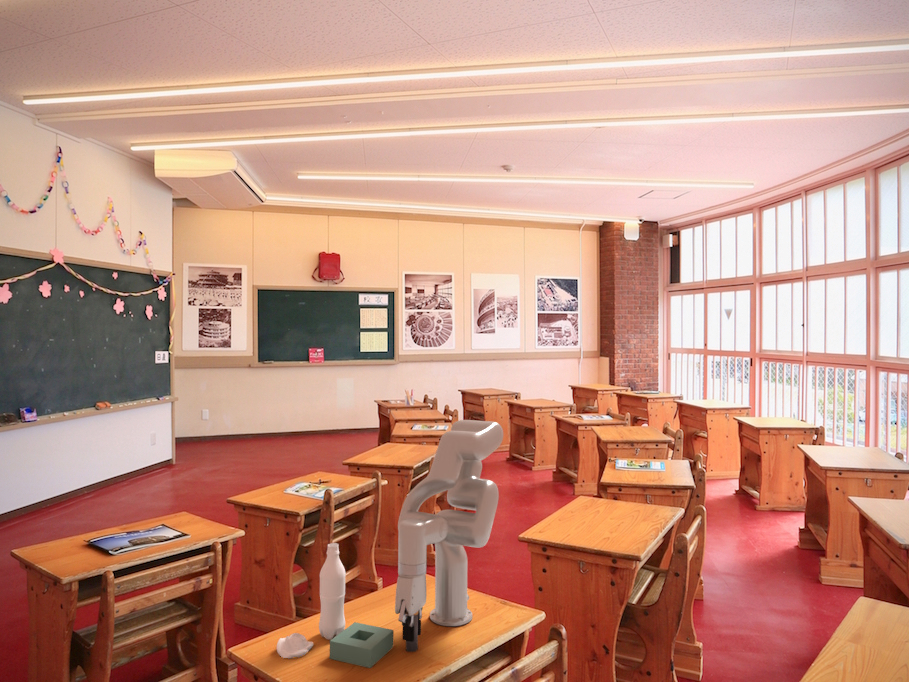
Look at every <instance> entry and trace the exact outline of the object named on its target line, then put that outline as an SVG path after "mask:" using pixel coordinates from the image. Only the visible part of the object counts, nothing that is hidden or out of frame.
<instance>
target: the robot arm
mask: <svg viewBox="0 0 909 682" xmlns="http://www.w3.org/2000/svg"><path fill="white" fill-rule="evenodd" d="M452 423H453V424H452V426H451V428H450V430H448V431H446V432H444V433H443V434H442V435H441V437H440V440H439V443H438V446H437V450H436V452H435V455H434V458H433V460H432V464H431V467H430V470H429V473H428V474H427V476H426V477H425V478H424V479H422V480H421V481H419V483H417V484H416V485H415V486H414V487H413V488H412V489H411V490H410V491H409V493H408V494H407V495H406V498H405V499H404V502H403V504H402V507H401V510H400V513H399V516H398V522H397V530H398V540H397V541H398V544H397V546H398V549H397V550H398V553H397V554H398V556H397V557H398V558H397V559H398V561H397V565H398V566H397V573H398V576H397V580H396V581H397V582H396V587H395V588H396V589H395V602H394V604H395V606H394V611H395V612H394V613H395V614H396V615H398V614H399V615H398V622H400V623H401V626H402V640H403V641H405V642H406V641H410V642H413V641H414V626H413V617H414V614H415V613H416V612H417V611H418V636H421V635H422V617H423V616H422V615H423V614H422V611H423V607H424V606H426V603H427V576H426V575H427V555H428V554H427V553H428V552H427V546H428V545H433V544H434V549H435V565H434V566H435V570H434V571H435V575H434V576H435V579H434V580H435V581H434V585H435V588H434V589H435V590H434V592H435V594H434V595H435V598H434V604H435V605H434V607H435V608H433V609H432V610H431V611H430V612H429V618H430V619H429V620H431V621H432V623H434V624H436V625H440V626H444V627H445V626H446V627H459V626H463V625H466V624H468V623H470V621H472V620H473V612H472V611H471V610H470V609H469V608H468V601H469V600H470V595H469V594H468V555H467V551H466V549H465V547H471V548H477V549H478V548H484V546H486V545H487V544H488V541H489V539H490V536H491V532H492V528H493V525H494V522H495V521H494V520H495V516H496V512H497V508H498V504H499V494H500V493H499V488H498V485H497V484H496V483H495V482H494V481H493V480H490V479H487V478H481V475H482V470H483V463H482V461H483V460H485V459H486V458H488V457H489V456H490V455H491V454H493V453H494V452H495V451H496V450H497V449H498V448H500V446H501V445H502V442H503V439H504V430H503V427H502V425H501V424H499V422H496V421H491V420H490V421H489V420H477V419H476V420H475V419H461V420H460V419H459V420H457V421H454V422H452ZM446 491H447V494H446V501H447V503H448V505H450V506H451V507H454V508H456V509H443V510H440V511H438V512H437V513H428V512H424V511H423V512H422V511H419V510H420V507H421V506H422V504H423V503H425V502H426V501H427V500H428V499H430V498H431V497H433V496H435V495H438V494H441V493H442V492H443V493H444V492H446ZM457 508H458V509H463V510H464V511H463V510H457ZM465 510H471V511H475V512H468V511H465ZM406 611H407V612H408V613H407V612H406ZM406 616H408V617H410V620H409V619H408V618H406Z"/></svg>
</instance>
